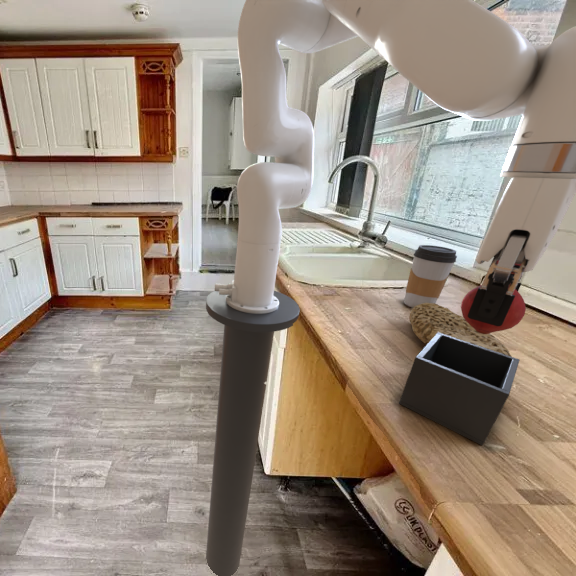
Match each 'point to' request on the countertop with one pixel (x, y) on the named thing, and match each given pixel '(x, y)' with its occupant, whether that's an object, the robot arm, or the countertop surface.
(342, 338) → the countertop surface
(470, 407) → the waste bin
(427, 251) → the coffee cup
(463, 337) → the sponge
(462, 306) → the onion
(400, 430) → the countertop surface
